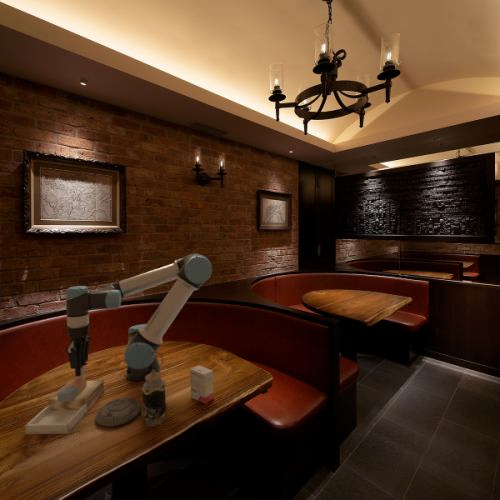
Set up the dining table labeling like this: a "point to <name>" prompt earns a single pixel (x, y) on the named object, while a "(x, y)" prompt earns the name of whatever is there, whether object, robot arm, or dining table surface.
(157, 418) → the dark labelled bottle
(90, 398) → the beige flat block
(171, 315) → the robot arm
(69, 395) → the slate gray square block
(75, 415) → the tray
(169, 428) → the dining table surface
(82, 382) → the salmon orange square block
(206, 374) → the ink box
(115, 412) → the flying saucer
